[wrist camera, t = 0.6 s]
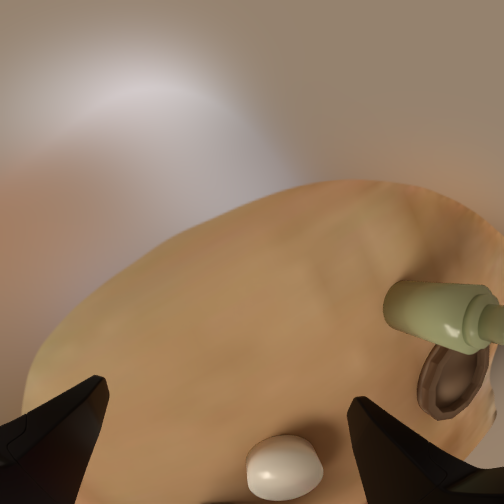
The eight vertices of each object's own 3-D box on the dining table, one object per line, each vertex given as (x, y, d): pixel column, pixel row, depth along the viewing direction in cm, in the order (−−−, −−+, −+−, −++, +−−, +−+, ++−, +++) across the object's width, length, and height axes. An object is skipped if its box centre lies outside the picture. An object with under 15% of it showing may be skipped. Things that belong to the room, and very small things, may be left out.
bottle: (424, 318, 23) (541, 346, 9) (387, 337, 23) (506, 386, 8) (416, 274, 23) (542, 275, 9) (378, 290, 23) (511, 307, 8)
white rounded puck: (319, 468, 22) (327, 487, 18) (256, 486, 21) (259, 506, 18) (307, 425, 22) (316, 444, 19) (237, 444, 22) (237, 466, 18)
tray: (476, 385, 24) (487, 389, 21) (417, 428, 23) (426, 436, 20) (476, 312, 24) (489, 314, 22) (414, 352, 23) (426, 358, 21)
